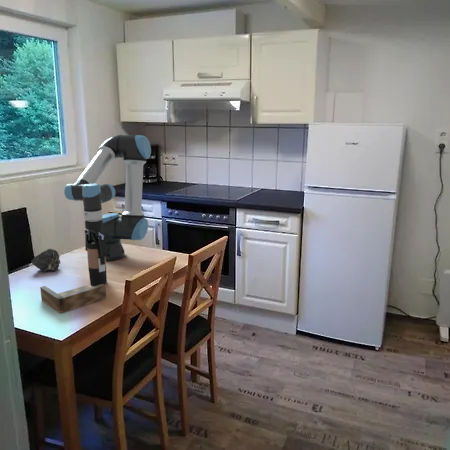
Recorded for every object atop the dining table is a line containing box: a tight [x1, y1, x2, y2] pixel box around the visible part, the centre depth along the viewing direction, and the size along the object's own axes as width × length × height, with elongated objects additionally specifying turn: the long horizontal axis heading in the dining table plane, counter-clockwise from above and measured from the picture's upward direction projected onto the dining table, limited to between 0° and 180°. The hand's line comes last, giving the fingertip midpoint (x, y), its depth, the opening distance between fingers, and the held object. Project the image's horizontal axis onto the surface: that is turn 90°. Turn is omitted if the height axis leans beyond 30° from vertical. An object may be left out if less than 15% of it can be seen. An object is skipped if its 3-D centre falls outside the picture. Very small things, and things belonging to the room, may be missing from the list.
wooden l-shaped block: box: [39, 284, 107, 314], centre depth 181 cm, size 20×17×6 cm
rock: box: [31, 248, 61, 272], centre depth 214 cm, size 12×10×10 cm
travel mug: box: [86, 240, 108, 287], centre depth 196 cm, size 8×8×20 cm
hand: (97, 268), depth 197 cm, fingers closed on travel mug, 8 cm apart
